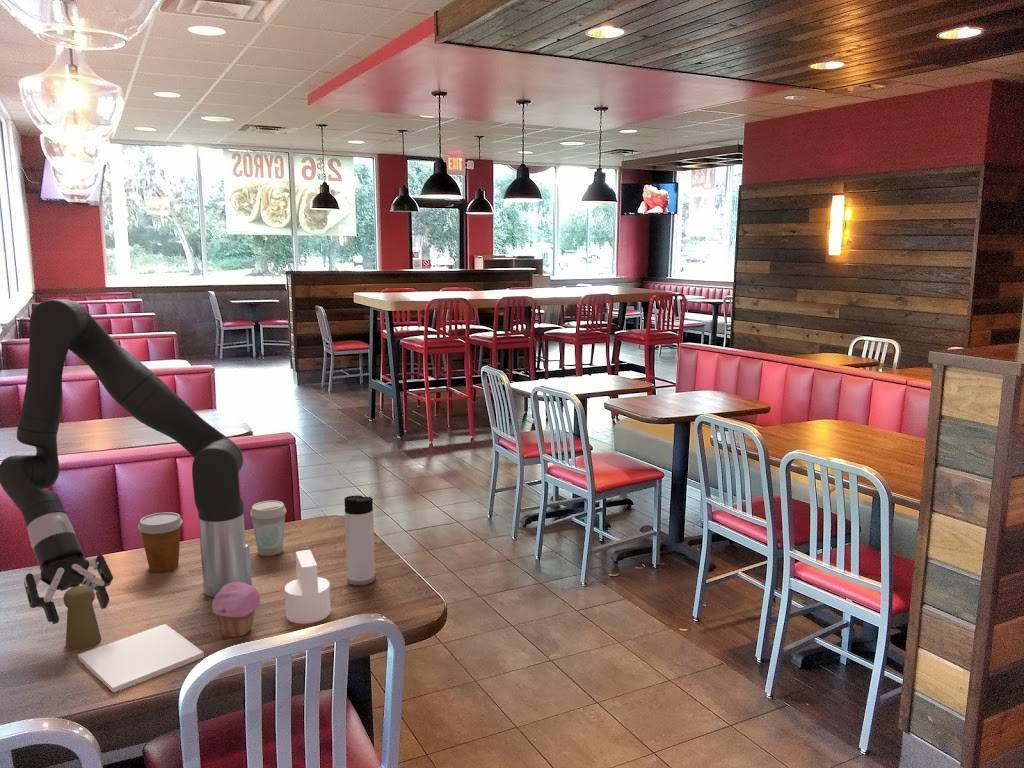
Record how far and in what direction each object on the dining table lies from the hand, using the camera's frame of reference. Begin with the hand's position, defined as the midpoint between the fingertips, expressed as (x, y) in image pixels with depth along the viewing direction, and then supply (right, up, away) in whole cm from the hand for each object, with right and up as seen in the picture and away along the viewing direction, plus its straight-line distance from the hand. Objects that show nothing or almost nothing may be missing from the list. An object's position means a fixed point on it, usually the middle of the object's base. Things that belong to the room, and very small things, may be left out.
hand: (81, 614), depth 148 cm
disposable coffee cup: (0, 0, +36) cm, 36 cm away
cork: (0, -6, +1) cm, 6 cm away
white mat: (+13, -7, -4) cm, 16 cm away
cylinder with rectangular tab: (+40, -4, +14) cm, 42 cm away
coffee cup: (+22, +2, +46) cm, 50 cm away
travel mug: (+47, -1, +29) cm, 56 cm away
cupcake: (+28, -5, +5) cm, 29 cm away
